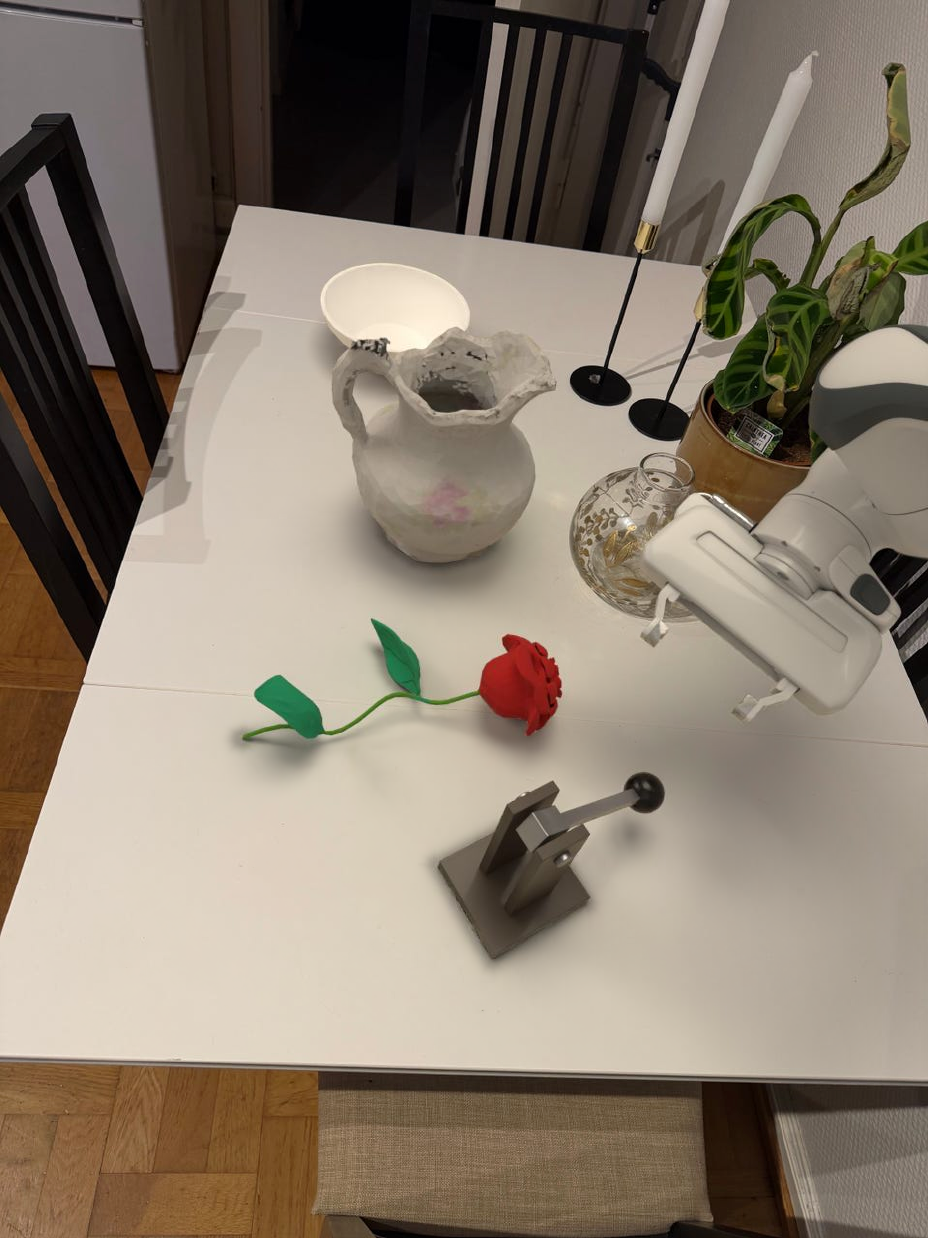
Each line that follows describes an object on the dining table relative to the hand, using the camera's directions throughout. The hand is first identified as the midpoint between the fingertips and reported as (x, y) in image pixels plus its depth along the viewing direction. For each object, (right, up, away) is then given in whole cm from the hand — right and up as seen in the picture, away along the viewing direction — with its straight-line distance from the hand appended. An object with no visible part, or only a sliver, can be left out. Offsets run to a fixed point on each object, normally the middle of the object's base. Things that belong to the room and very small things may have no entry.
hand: (692, 678), depth 70 cm
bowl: (-28, +41, +48) cm, 70 cm away
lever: (-8, -12, +3) cm, 15 cm away
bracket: (-14, -18, +6) cm, 24 cm away
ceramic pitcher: (-23, +15, +30) cm, 41 cm away
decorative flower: (-25, -3, +16) cm, 30 cm away
